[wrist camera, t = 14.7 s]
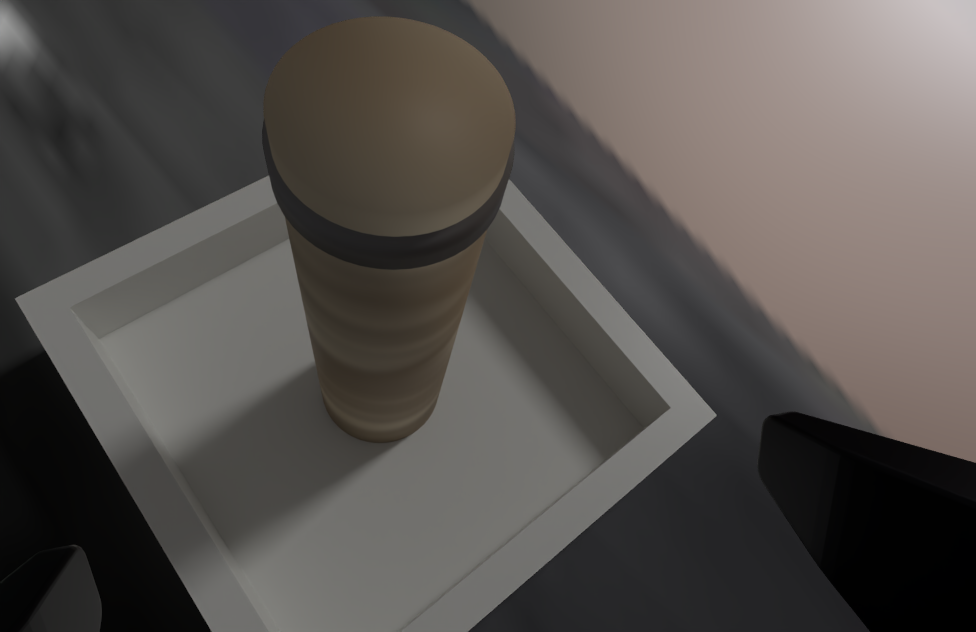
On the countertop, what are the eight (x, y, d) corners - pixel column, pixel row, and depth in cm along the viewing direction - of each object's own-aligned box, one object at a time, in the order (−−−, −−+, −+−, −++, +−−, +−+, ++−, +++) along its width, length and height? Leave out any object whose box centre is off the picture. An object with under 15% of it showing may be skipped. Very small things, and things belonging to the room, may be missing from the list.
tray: (675, 440, 23) (716, 415, 20) (309, 755, 17) (298, 778, 15) (428, 150, 26) (435, 95, 23) (60, 341, 21) (14, 298, 18)
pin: (394, 471, 20) (426, 270, 9) (291, 399, 20) (196, 119, 9) (465, 373, 22) (568, 97, 10) (369, 308, 22) (367, -25, 11)
